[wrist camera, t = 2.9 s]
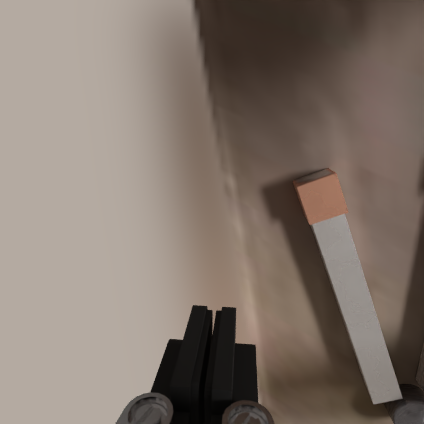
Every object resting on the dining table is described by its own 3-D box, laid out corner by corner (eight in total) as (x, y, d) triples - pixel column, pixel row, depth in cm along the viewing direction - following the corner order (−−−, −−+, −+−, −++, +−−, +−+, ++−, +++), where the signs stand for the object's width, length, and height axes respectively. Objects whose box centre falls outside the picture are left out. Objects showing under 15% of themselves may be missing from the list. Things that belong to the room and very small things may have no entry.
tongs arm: (394, 379, 29) (407, 402, 26) (363, 386, 29) (372, 409, 27) (328, 168, 24) (336, 173, 22) (292, 180, 25) (296, 187, 22)
